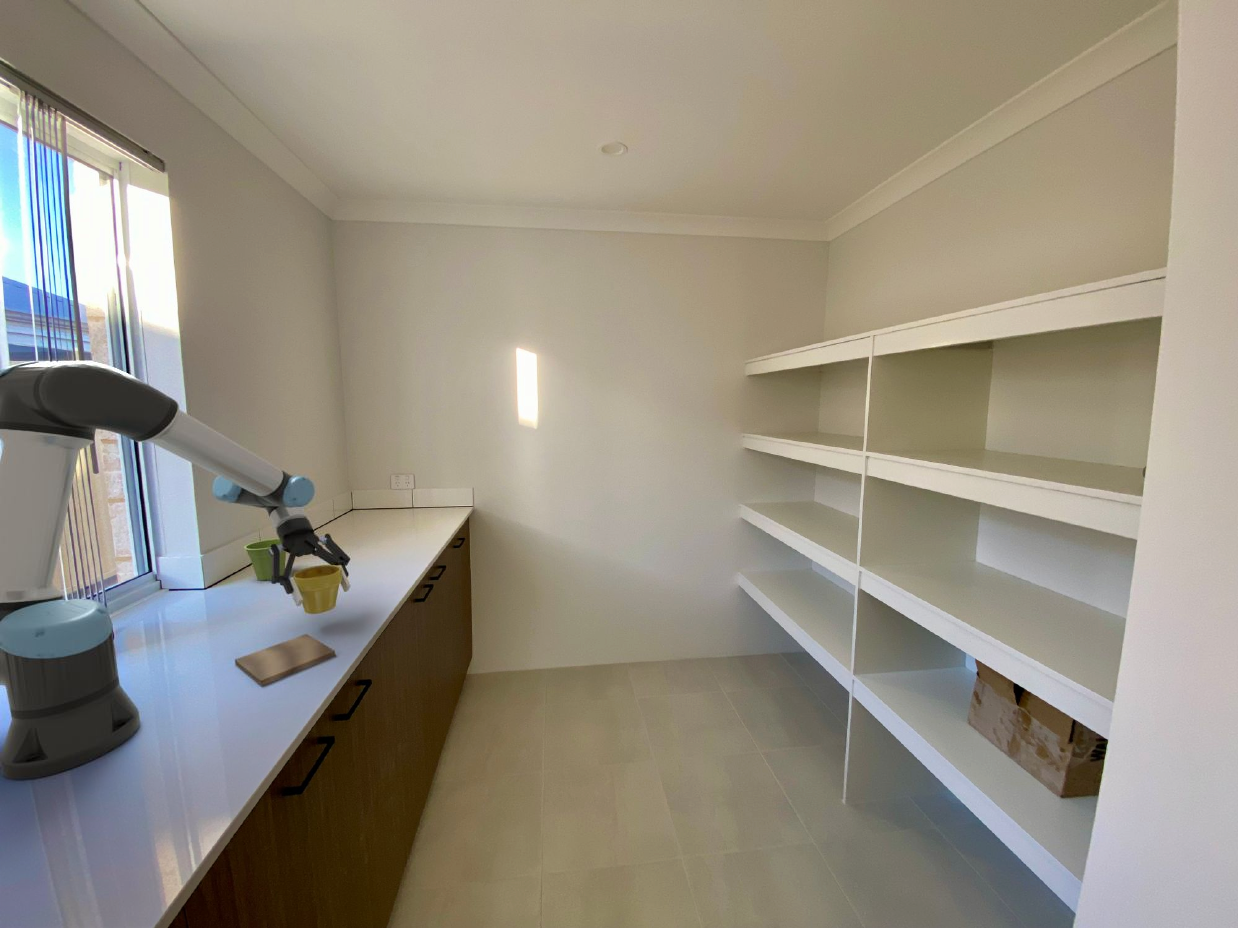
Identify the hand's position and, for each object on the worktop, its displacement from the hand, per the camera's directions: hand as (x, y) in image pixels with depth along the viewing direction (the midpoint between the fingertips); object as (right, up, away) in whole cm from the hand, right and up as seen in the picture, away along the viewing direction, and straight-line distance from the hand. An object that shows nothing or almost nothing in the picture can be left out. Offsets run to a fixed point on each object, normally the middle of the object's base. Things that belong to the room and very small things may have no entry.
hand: (324, 595), depth 118 cm
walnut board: (0, -10, -13) cm, 17 cm away
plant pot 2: (-2, -4, +2) cm, 5 cm away
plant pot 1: (-40, -4, +37) cm, 55 cm away
